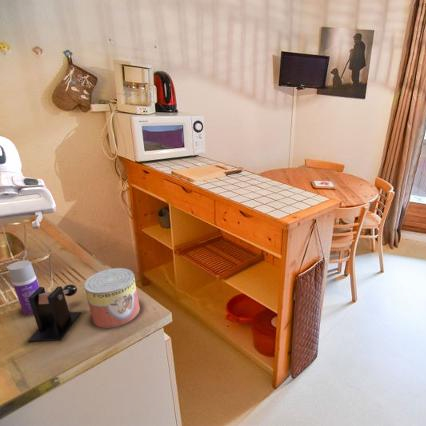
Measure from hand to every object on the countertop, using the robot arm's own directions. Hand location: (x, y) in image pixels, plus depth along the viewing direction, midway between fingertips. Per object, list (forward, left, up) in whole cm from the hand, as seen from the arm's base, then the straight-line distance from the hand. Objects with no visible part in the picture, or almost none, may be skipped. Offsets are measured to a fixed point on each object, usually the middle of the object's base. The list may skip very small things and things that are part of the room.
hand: (14, 231), depth 89 cm
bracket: (+23, -8, -19) cm, 31 cm away
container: (+11, -6, -20) cm, 23 cm away
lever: (+21, -5, -13) cm, 25 cm away
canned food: (+32, +2, -20) cm, 37 cm away
